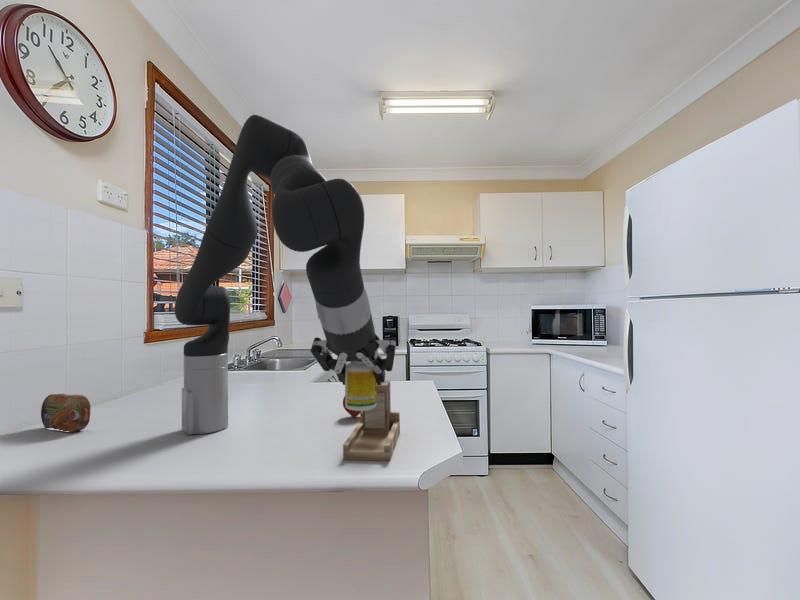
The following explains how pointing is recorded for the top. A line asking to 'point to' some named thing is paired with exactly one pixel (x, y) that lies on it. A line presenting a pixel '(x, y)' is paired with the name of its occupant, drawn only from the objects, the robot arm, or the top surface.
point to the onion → (351, 412)
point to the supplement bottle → (359, 386)
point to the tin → (65, 412)
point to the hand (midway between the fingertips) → (362, 380)
